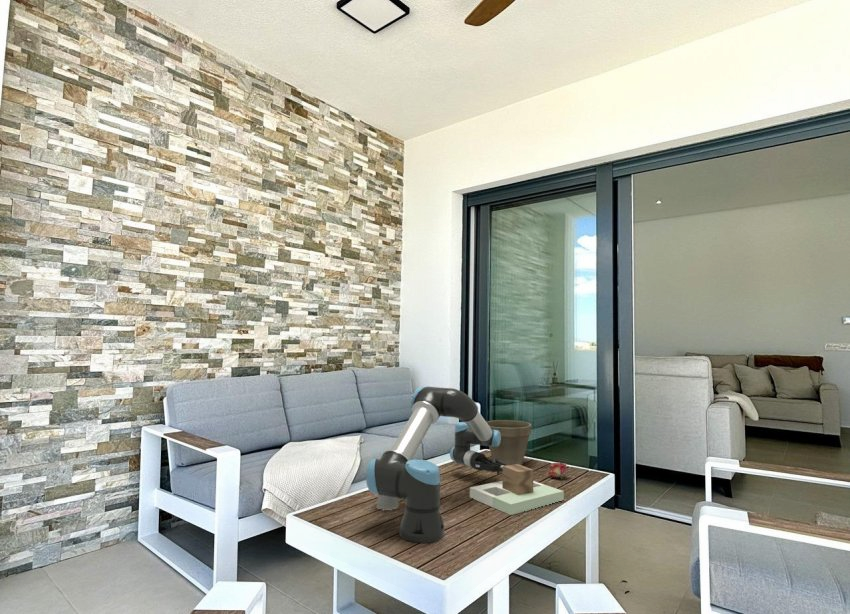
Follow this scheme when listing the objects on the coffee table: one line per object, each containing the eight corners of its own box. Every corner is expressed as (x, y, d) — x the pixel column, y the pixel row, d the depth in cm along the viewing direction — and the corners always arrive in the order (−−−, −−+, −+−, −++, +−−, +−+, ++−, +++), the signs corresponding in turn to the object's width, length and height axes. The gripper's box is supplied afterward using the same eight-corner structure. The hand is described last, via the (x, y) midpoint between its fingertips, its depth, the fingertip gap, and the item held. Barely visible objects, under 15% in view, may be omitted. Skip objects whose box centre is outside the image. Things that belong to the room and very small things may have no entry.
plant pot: (473, 464, 255) (473, 422, 256) (502, 457, 271) (502, 417, 273) (511, 474, 236) (512, 429, 238) (540, 466, 253) (540, 424, 254)
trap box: (510, 515, 181) (510, 504, 182) (469, 497, 201) (469, 487, 201) (563, 501, 198) (563, 491, 199) (521, 485, 218) (521, 476, 218)
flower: (574, 476, 228) (568, 460, 233) (562, 475, 223) (556, 458, 228) (560, 484, 234) (554, 468, 239) (547, 483, 229) (541, 467, 234)
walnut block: (517, 495, 192) (517, 472, 193) (502, 488, 201) (502, 466, 202) (533, 492, 196) (533, 469, 197) (517, 485, 205) (517, 464, 206)
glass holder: (374, 503, 192) (375, 465, 193) (409, 501, 195) (410, 463, 196) (378, 511, 183) (379, 471, 184) (414, 508, 187) (415, 469, 188)
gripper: (486, 466, 227) (523, 479, 208) (464, 470, 220) (500, 483, 201) (486, 450, 228) (523, 461, 208) (464, 453, 220) (501, 465, 201)
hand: (512, 472), depth 204 cm, fingers closed
